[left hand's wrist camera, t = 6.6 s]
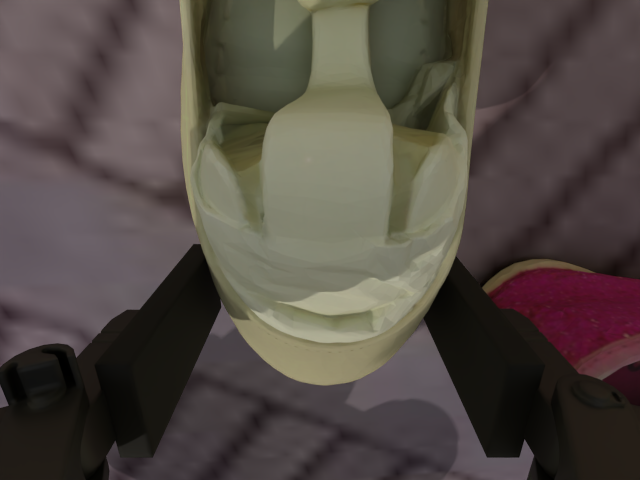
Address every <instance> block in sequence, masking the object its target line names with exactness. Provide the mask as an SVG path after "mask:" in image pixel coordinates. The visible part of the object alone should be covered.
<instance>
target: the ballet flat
mask: <svg viewBox="0 0 640 480" xmlns="http://www.w3.org/2000/svg"><path fill="white" fill-rule="evenodd" d="M487 8H488V0H180V12H181V24H182V36H183V58H182V79H181V143H182V158H183V167H184V175H185V182H186V189H187V194H188V199H189V203H190V208H191V213H192V217H193V221H194V224H195V227H196V231H197V234H198V237H199V240H200V243H201V247H202V250H203V253H204V255H205V258H206V261H207V264H208V267H209V270H210V273H211V276H212V279H213V282H214V285H215V287H216V289H217V292H218V294H219V296H220V299H221V301H222V302H223V304H224V306H225V308H226V310H227V312H228V313H229V315H230V317H231V319H232V320H233V322H234V324H235V325H236V327H237V329H238V330H239V332H240V334H241V335H242V336H243V338H244V339H245V340H246V342H247V343H248V344H249V345H250V346H251V347H252V348H253V349H254V350H255V351H256V352H257V353H258V354H259V356H260V357H261V358H262V359H263V360H265V361H266V362H267V363H268V364H270V365H271V366H272V367H273V368H275V369H276V370H278V371H280V372H281V373H283V374H284V375H286V376H288V377H290V378H292V379H295V380H297V381H300V382H304V383H309V384H315V385H333V384H341V383H347V382H352V381H355V380H357V379H360V378H362V377H364V376H366V375H368V374H370V373H372V372H374V371H375V370H377V369H378V368H379V367H381V366H382V365H384V364H385V363H386V362H387V361H388V360H389V359H390V358H391V357H392V356H393V355H394V354H395V353H396V352H397V351H398V350H399V349H400V348H401V346H402V345H403V344H404V343H405V342H406V340H407V339H408V338H409V337H410V336H411V335H412V334H413V332H414V331H415V330H416V329H417V327H418V325H419V324H420V322H421V321H422V319H423V317H424V316H425V314H426V313H427V312H428V310H429V308H430V306H431V305H432V303H433V301H434V299H435V297H436V295H437V293H438V291H439V289H440V288H441V286H442V284H443V283H444V281H445V279H446V277H447V275H448V273H449V271H450V269H451V267H452V264H453V262H454V259H455V256H456V253H457V250H458V247H459V244H460V240H461V235H462V230H463V224H464V216H465V209H466V201H467V190H468V178H469V167H470V155H471V145H472V136H473V126H474V117H475V108H476V99H477V91H478V84H479V76H480V67H481V59H482V50H483V41H484V32H485V24H486V16H487Z"/></svg>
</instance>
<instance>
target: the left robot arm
mask: <svg viewBox="0 0 640 480" xmlns="http://www.w3.org/2000/svg"><path fill="white" fill-rule="evenodd" d="M220 309H221V301H220V296H219V294H218V292H217V289H216V287H215V285H214V282H213V279H212V276H211V273H210V270H209V267H208V264H207V261H206V258H205V255H204V253H203V250H202V247H201V244H193V246H192V247H191V248H190V249H189V251H188V252H187V253H186V254H185V255H184V257H183V258H182V259H181V260H180V261H179V263H178V264H177V265H176V266H175V268H174V269H173V270H172V271H171V272H170V274H169V275H168V276H167V277H166V278H165V280H164V281H163V282H162V283H161V285H160V286H159V287H158V288H157V289H156V291H155V292H154V293H153V294H152V295H151V297H150V298H149V299H148V300H147V301H146V303H145V304H144V305H143V306H142V308H141V309H140V310H126V311H125V312H123V313H121V314H120V315H118V316H116V317H115V318H113V319H112V320H111V321H110V322H109V323H108V324H107V325H106V326H105V327H104V328H103V329H102V331H101V333H99V334H98V335H97V336H96V337H95V338H94V339H93V340H92V343H90V344H89V345H88V346H87V347H86V348H85V349H84V350H83V351H82V352H81V354H80V355H79V356H78V357H77V358H76V356H75V353H74V349H73V348H71V347H70V346H68V345H65V344H58V343H57V344H48V345H42V346H39V347H35V348H32V349H29V350H27V351H25V352H23V353H20V354H18V355H16V356H14V357H13V358H12V359H10V360H9V361H7V362H6V363H4V364H3V365H2V366H1V367H0V385H1V388H2V390H3V392H4V395H5V397H6V400H7V402H8V404H9V406H6V407H2V408H0V480H108V479H109V466H108V461H107V458H106V456H107V454H108V452H109V450H110V449H111V447H112V445H113V444H114V442H115V440H116V443H117V447H118V450H119V454H120V457H153V455H154V453H155V451H156V449H157V447H158V445H159V442H160V440H161V438H162V436H163V434H164V431H165V429H166V427H167V425H168V423H169V420H170V418H171V416H172V414H173V412H174V409H175V407H176V405H177V403H178V401H179V399H180V396H181V394H182V392H183V390H184V388H185V385H186V383H187V381H188V379H189V377H190V374H191V372H192V370H193V368H194V366H195V363H196V361H197V359H198V357H199V355H200V353H201V350H202V348H203V346H204V344H205V342H206V339H207V337H208V335H209V333H210V331H211V328H212V326H213V324H214V322H215V320H216V317H217V315H218V313H219V311H220ZM423 318H424V320H425V322H426V325H427V327H428V329H429V331H430V333H431V336H432V338H433V340H434V342H435V344H436V347H437V349H438V351H439V353H440V355H441V357H442V360H443V362H444V364H445V366H446V368H447V371H448V373H449V375H450V377H451V379H452V382H453V384H454V386H455V388H456V390H457V393H458V395H459V397H460V399H461V401H462V403H463V406H464V408H465V410H466V412H467V414H468V417H469V419H470V421H471V423H472V425H473V428H474V430H475V432H476V434H477V436H478V439H479V441H480V443H481V445H482V447H483V449H484V452H485V454H486V456H487V457H519V456H520V453H521V449H522V446H523V442H524V439H525V440H526V442H527V444H528V445H529V447H530V449H531V451H532V452H533V454H534V458H533V461H532V464H531V468H530V471H529V474H528V478H527V480H640V406H636V405H632V404H630V402H629V401H628V400H627V398H626V397H625V395H623V394H622V393H621V392H620V391H618V390H617V389H616V388H615V387H613V386H611V385H610V384H608V383H606V382H604V381H602V380H600V379H597V378H594V377H591V376H588V375H585V374H579V373H578V372H577V371H576V369H575V368H574V367H573V366H572V365H571V364H570V363H569V362H568V361H567V360H566V359H565V358H564V356H563V355H562V354H561V353H560V352H559V351H558V350H557V349H556V348H555V347H554V346H553V344H552V343H551V342H548V339H547V338H546V337H545V336H544V335H543V334H542V332H539V329H538V328H537V327H536V326H535V325H534V324H533V323H532V322H531V321H530V319H529V318H527V317H526V316H524V315H522V314H521V313H519V312H517V311H516V310H514V309H499V308H498V307H497V305H496V304H495V303H494V302H493V301H492V299H491V298H490V297H489V296H488V295H487V293H486V292H485V291H484V290H483V288H482V287H481V286H480V285H479V284H478V282H477V281H476V280H475V279H474V278H473V276H472V275H471V274H470V273H469V272H468V270H467V269H466V268H465V267H464V265H463V264H462V263H461V262H460V261H459V259H458V258H457V257H456V256H455V259H454V262H453V264H452V267H451V269H450V271H449V273H448V275H447V277H446V279H445V281H444V283H443V284H442V286H441V288H440V289H439V291H438V293H437V295H436V297H435V299H434V301H433V303H432V305H431V306H430V308H429V310H428V312H427V313H426V314H425V316H424V317H423Z"/></svg>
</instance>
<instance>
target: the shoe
mask: <svg viewBox="0 0 640 480" xmlns="http://www.w3.org/2000/svg"><path fill="white" fill-rule="evenodd" d="M482 288H483V290H484V291H485V292H486V293H487V295H488V296H489V297H490V298H491V299H492V301H493V302H494V303H495V304H496V305H497V307H498V308H499V309H514V310H516V311H517V312H519V313H521V314H522V315H524V316H526V317H527V318H529V319H530V321H531V322H532V323H533V324H534V325H535V326H536V327H537V328H538V329H539V332H542V334H543V335H544V336H545V337H546V338H547V339H548V342H551V343H552V344H553V346H554V347H555V348H556V349H557V350H558V351H559V352H560V353H561V354H562V355H563V356H564V358H565V359H566V360H567V361H568V362H569V363H570V364H571V365H572V366H573V367H574V368H575V369H576V371H577V372H578V373H579V374H585V375H588V376H591V377H594V378H597V379H600V380H602V381H604V382H606V383H608V384H610V385H611V386H613V387H615V388H616V389H617V390H618V391H620V392H621V393H622V394H623V395H625V397H626V398H627V400H628V401H629V402H630V404H632V405H636V406H640V280H639V279H633V278H627V277H617V276H611V275H605V274H600V273H595V272H592V271H590V270H588V269H585V268H582V267H579V266H576V265H573V264H569V263H566V262H561V261H556V260H551V259H531V260H527V261H522V262H518V263H514V264H512V265H510V266H509V267H507V268H505V269H503V270H501V271H500V272H499V273H498V274H496V275H495V276H494V277H493V278H491V279H490V280H489V281H488V282H487V283H486V284H485V285H484V286H483V287H482Z"/></svg>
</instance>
